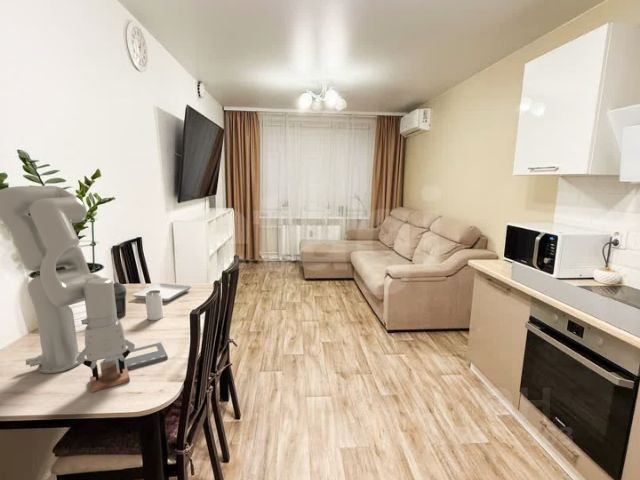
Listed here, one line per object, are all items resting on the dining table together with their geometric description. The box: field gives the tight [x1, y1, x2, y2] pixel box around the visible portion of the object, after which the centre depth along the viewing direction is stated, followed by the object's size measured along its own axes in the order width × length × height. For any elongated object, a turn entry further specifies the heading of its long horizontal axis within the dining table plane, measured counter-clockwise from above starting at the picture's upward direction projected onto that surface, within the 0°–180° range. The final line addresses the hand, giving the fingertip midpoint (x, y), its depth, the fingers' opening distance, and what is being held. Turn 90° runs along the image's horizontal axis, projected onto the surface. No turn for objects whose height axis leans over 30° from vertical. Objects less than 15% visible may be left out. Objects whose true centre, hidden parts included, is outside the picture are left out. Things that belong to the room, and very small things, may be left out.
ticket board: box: [104, 342, 169, 371], centre depth 120 cm, size 18×12×1 cm, turn 125°
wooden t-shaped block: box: [89, 360, 131, 393], centre depth 106 cm, size 10×7×5 cm
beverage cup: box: [112, 273, 127, 319], centre depth 155 cm, size 7×7×20 cm
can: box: [145, 290, 164, 321], centre depth 154 cm, size 6×6×12 cm
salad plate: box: [132, 282, 192, 302], centre depth 184 cm, size 21×21×3 cm
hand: (109, 374), depth 107 cm, fingers open, 5 cm apart
